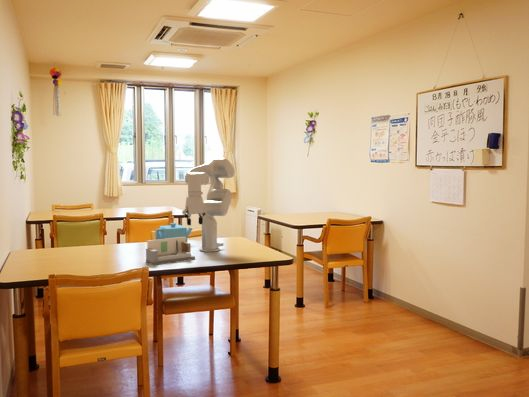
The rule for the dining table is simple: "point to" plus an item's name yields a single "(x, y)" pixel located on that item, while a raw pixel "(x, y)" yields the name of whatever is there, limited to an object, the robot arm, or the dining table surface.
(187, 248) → the gauge slider
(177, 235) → the container
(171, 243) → the gauge base
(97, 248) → the dining table surface
